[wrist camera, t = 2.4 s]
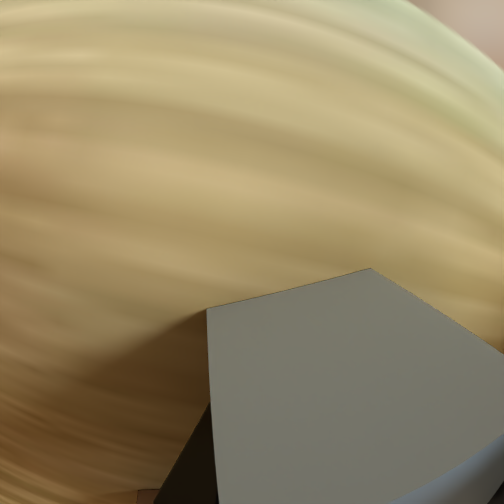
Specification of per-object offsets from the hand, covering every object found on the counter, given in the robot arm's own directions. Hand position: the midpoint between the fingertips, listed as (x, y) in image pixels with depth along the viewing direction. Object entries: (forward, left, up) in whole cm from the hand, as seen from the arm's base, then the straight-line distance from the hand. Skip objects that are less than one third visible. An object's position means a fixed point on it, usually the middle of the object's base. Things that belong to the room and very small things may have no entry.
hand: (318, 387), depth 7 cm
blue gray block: (0, 0, -1) cm, 1 cm away
